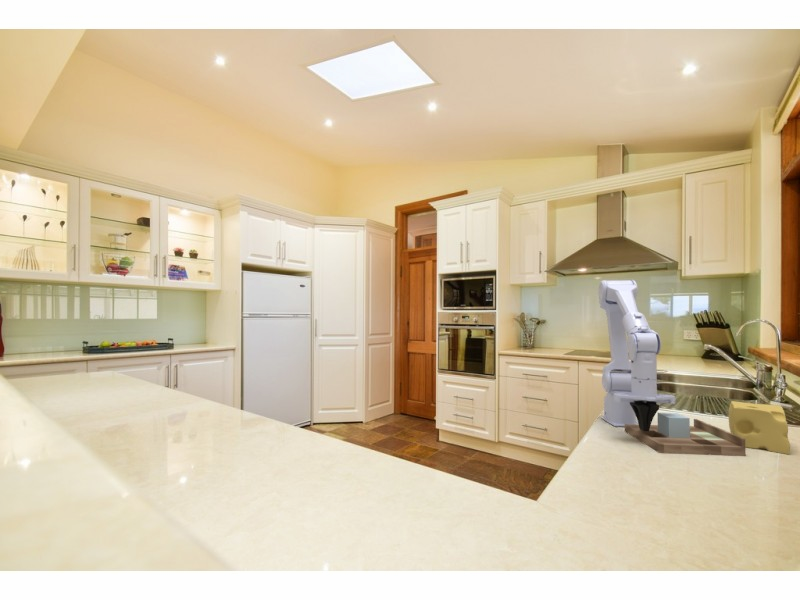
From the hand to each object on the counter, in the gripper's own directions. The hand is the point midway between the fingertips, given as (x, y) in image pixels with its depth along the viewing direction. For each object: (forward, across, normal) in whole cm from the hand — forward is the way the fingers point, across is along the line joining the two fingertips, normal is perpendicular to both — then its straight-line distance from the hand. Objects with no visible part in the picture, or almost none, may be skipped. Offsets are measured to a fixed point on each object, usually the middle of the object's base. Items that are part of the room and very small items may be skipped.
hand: (644, 430), depth 102 cm
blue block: (+1, +7, 0) cm, 7 cm away
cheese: (+3, +28, +1) cm, 28 cm away
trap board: (+3, +8, 0) cm, 9 cm away
